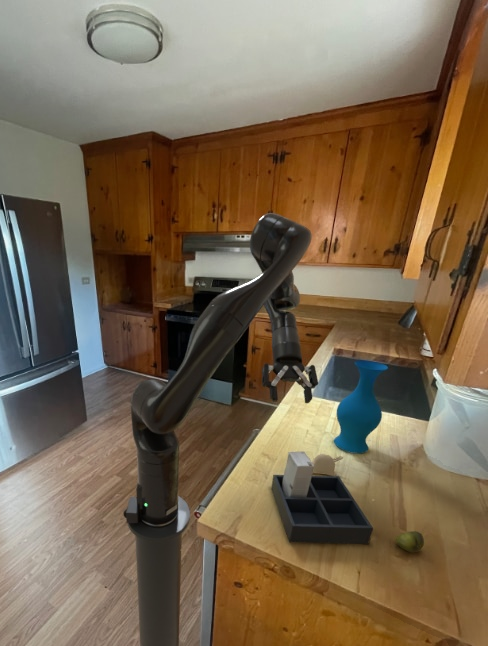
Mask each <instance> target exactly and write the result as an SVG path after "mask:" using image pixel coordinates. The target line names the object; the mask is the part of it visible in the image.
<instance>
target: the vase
mask: <svg viewBox="0 0 488 646" xmlns="http://www.w3.org/2000/svg"><path fill="white" fill-rule="evenodd" d="M354 365H355V366H356V368H357V369H358V372H359V381H358V383H357V386H356V388H355V389H354V390H353V391H352V392H351V393H349V395H347V396H346V397H344V398H343V399H342V400H341V401H340V403H339V404H338V406H337V408H336V419H337V423H338V425H339V428H340V429H339V430H340V433H339V435H337V436H336V437H334V438H333V443H334V444H335V446H336V447H338V448H339V449H341V450H342V451H344V452H348V453H351V454H364V453H367V452H368V451H369V446H368V443H367V439H368V436H369V435H370V434H371V433H372V432H373V431H375V430H376V429H377V428H378V426H380V424H381V421H382V418H383V413H382V408H381V406H380V404H379V402H378V400H377V399H376V396H375V391H374V385H375V382H376V379H377V378H378V376H380V374H382V373H383V372H385V371H387V370H388V369H389V367H388V366H387V365H386V364H384V363H382V362H379V361H373V360H364V359H363V360H356V361H354Z"/></svg>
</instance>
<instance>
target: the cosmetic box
mask: <svg viewBox="0 0 488 646" xmlns="http://www.w3.org/2000/svg"><path fill="white" fill-rule="evenodd" d="M312 462H313V461H311V458H310V456H308V454H307V453H306V451H304V450H300V451H288V454H287V459H286V463H285V468H284V473H283V475H284V477H283V482H282V487H281V489H282V492H283V495H284V497H307V493H308V489H309V485H310V481H311V477H312V476H313V474H314V473H313V469H314V465H313V464H312Z"/></svg>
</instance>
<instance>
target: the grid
mask: <svg viewBox="0 0 488 646" xmlns="http://www.w3.org/2000/svg"><path fill="white" fill-rule="evenodd" d="M283 477H284V474H273V475H272V482H271V486H270V491H271V493H272V495H273V498H274V501H275V504H276V507H277V510H278V513H279V516H280V519H281V523H282V524H283V527H284V530H285V531H284V532H285V534H286V537H287V539H288V542H289V543H304V544H305V543H308V544H309V543H310V544H311V543H312V544H344V545H345V544H349V545H351V544H352V545H369V542H370V540H371V536H372V533H373V530H374V527H373V526H372V524H371V522H370V521H369V520H368V517H366V515H365V514H364V512H363V510H362V509H361V506H359V504H358V502H357V501H356V499H355V498H354V496H353V495H352V493H351V492H350V491H349V489H348V487H347V486H346V485H345V483H344V481H343V480H342V478H341V477H340V476H339V475H338V476H331V475H312V477H311V481H310V485H309V489H308V493H307V497H284V495H283V492H282V489H281V487H282V482H283Z"/></svg>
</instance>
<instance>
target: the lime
mask: <svg viewBox="0 0 488 646" xmlns="http://www.w3.org/2000/svg"><path fill="white" fill-rule="evenodd" d="M395 542H396V544H397V545H398V547H400V548H401V549H402V550H404V551H406V552H408V553H418V552H420V551H421V550H422V549H423V548H424V546H425V539H424V536H423V534H422V533H421V532H419V531H415V530H414V531H413V530H412V531H407V532H404V533H402V534H399V535H398V536H396V538H395Z"/></svg>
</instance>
